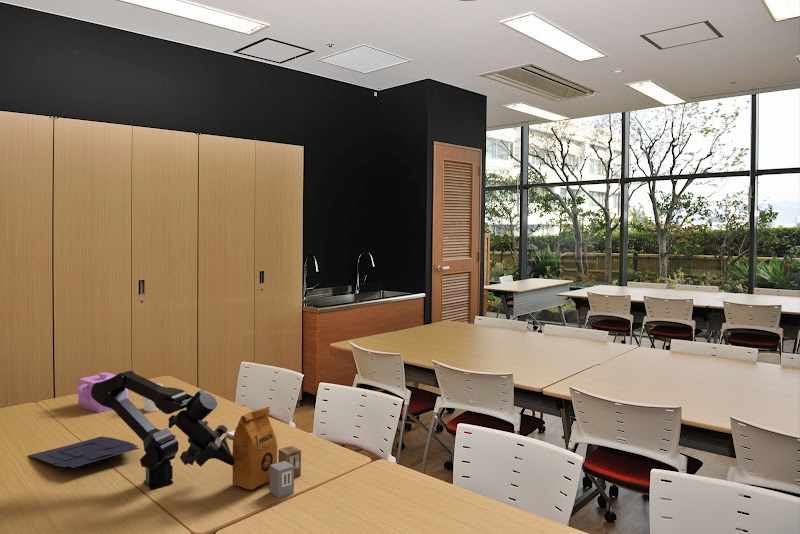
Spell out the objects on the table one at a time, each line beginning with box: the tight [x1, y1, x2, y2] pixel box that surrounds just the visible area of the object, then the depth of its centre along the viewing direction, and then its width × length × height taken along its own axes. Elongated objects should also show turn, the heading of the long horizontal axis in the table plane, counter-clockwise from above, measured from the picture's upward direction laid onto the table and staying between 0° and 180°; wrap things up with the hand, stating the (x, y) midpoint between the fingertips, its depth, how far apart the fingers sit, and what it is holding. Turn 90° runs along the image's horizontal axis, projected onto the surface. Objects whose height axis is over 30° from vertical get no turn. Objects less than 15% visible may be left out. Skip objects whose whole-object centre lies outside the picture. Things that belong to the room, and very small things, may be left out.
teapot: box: [75, 370, 135, 414], centre depth 245 cm, size 15×25×14 cm, turn 147°
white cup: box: [142, 382, 164, 413], centre depth 241 cm, size 8×8×10 cm
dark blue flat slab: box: [27, 435, 141, 469], centre depth 190 cm, size 24×30×4 cm
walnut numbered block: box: [277, 445, 302, 479], centre depth 180 cm, size 5×5×8 cm
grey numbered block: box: [269, 461, 295, 499], centre depth 168 cm, size 5×5×8 cm
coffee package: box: [231, 406, 278, 491], centre depth 174 cm, size 10×12×22 cm
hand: (233, 464), depth 170 cm, fingers closed
